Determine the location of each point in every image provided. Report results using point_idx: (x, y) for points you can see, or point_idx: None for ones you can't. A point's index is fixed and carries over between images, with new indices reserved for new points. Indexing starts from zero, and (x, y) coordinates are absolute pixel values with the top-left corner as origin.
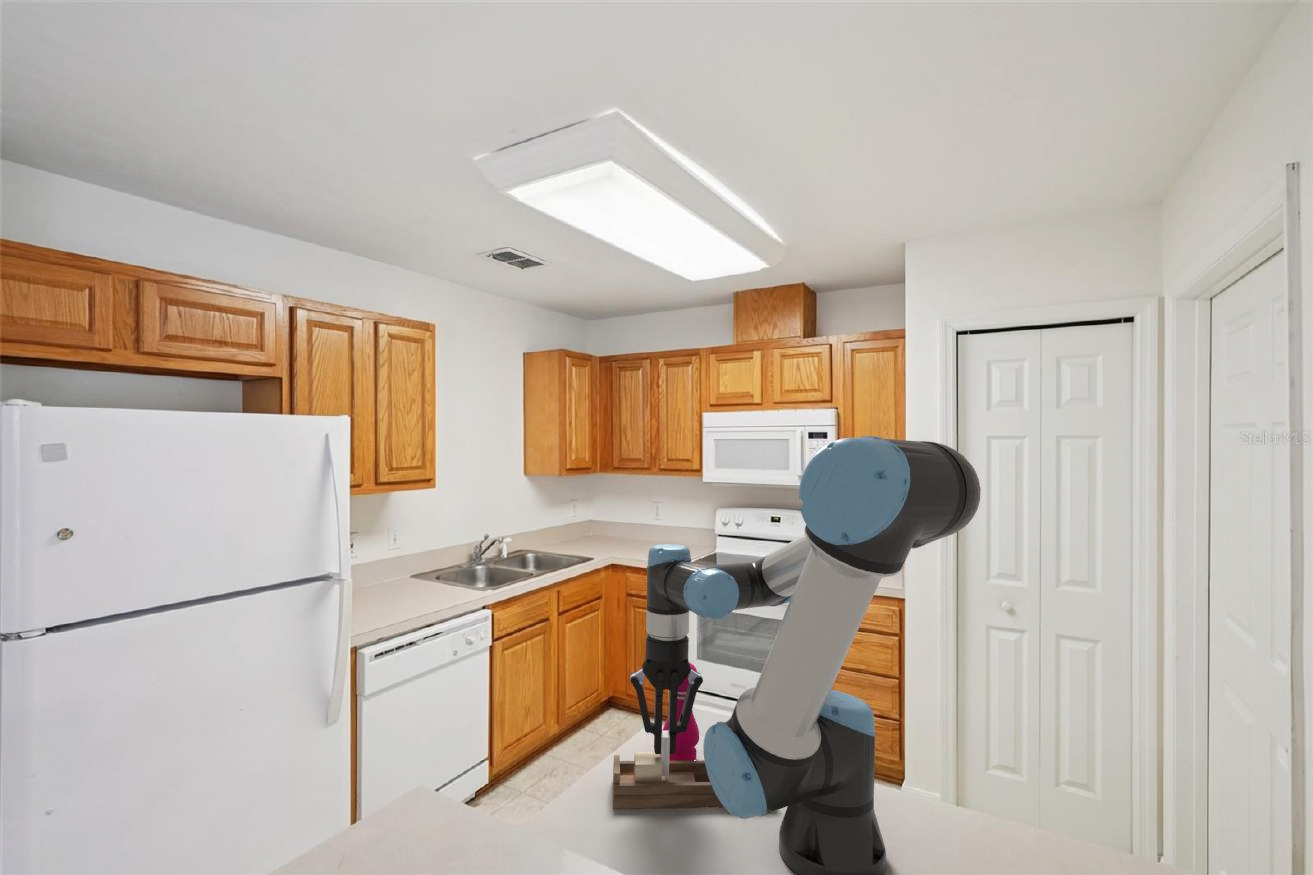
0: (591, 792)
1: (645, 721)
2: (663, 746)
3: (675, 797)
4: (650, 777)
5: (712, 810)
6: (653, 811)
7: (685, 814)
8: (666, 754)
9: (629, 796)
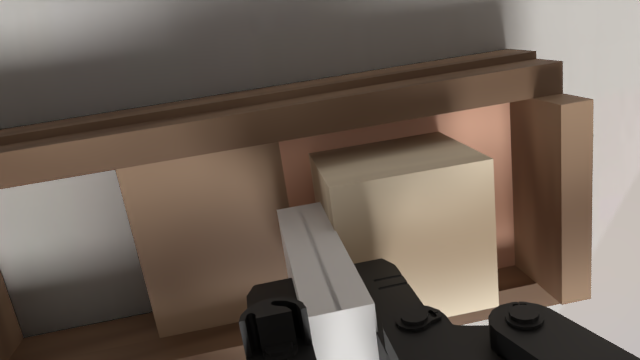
0: (596, 162)
1: (601, 357)
2: (342, 272)
3: (230, 98)
4: (378, 157)
5: (43, 98)
6: (329, 50)
7: (176, 44)
8: (309, 253)
9: (459, 63)
